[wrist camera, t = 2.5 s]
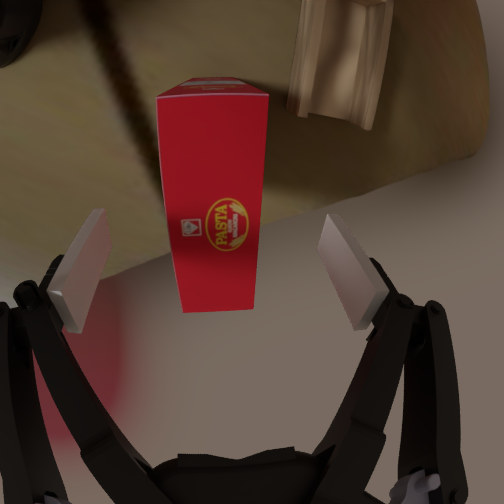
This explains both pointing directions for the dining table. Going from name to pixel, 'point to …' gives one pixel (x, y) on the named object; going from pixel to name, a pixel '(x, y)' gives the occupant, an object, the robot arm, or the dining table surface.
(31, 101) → the dining table surface
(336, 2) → the u rest
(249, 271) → the food packaging
